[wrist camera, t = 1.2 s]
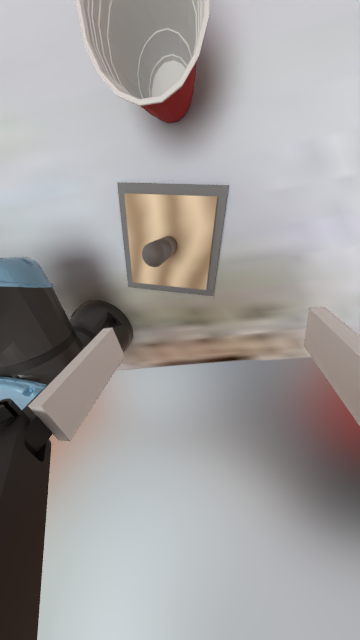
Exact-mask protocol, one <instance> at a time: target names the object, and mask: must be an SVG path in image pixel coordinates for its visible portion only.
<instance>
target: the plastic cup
mask: <svg viewBox="0 0 360 640" xmlns="http://www.w3.org/2000/svg"><path fill="white" fill-rule="evenodd" d="M76 6H77V11H78V16H79V22H80V27H81V32H82V37H83V42H84V45H85V47H86V49H87V51H88V53H89V56H90V58H91V60H92V62H93V64H94V67H95V69H96V71H97V73H98V75H99V76H100V77H101V78H102V79H103V81H104V82H105V83H106V84H107V85H108V86H109V87H110V88H111V89H112V90H113V92H114V93H115V94H116V95H117V96H118V97H120V98H123V99H125V100H127V101H130V102H132V103H134V104H137V105H139V106H141V107H142V108H144V109H145V110H146V111H148V112H149V113H150V114H152V115H153V116H155V117H157V118H159V119H160V120H162V121H165V122H167V123H171V122H177V121H178V120H180V119H181V118H182V117H183V116H184V115H185V113H186V112H187V110H188V108H189V106H190V103H191V99H192V95H193V87H194V80H195V71H196V61H197V60H198V57H199V54H200V50H201V46H202V42H203V38H204V34H205V30H206V26H207V22H208V18H209V0H76Z"/></svg>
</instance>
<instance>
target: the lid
mask: <svg viewBox="0 0 360 640" xmlns="http://www.w3.org/2000/svg"><path fill="white" fill-rule="evenodd" d="M124 196H125V207H126V217H127V228H128V239H129V249H130V260H131V271H132V281H133V282H134V283H144V284H154V285H163V286H173V287H183V288H192V289H202V290H206V287H207V279H208V271H209V262H210V254H211V246H212V237H213V229H214V221H215V212H216V204H217V196H188V195H158V194H129V193H124Z"/></svg>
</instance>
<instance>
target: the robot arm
mask: <svg viewBox="0 0 360 640" xmlns="http://www.w3.org/2000/svg"><path fill="white" fill-rule="evenodd" d="M52 287H53V284H51V283H50V282H49V280H48V279H47V277H46V275H45V273H44V272H43V270H42V268H41V267H40V265H39V264H38V263H37V262H36V261H34V260H32V259H30V258H27V257H12V258H0V640H37V631H38V618H39V604H40V591H41V576H42V562H43V550H44V536H45V523H46V509H47V495H48V481H49V468H50V454H51V442H50V440H49V438H50V436H51V435H52V434H53V435H55V437H56V438H57V439H58V440H61V441H71V440H72V438H73V437H74V435H75V433H76V432H77V430H78V429H79V427H80V426H81V424H82V422H83V421H84V419H85V418H86V416H87V415H88V413H89V411H90V410H91V408H92V407H93V405H94V404H95V402H96V400H97V399H98V397H99V396H100V394H101V392H102V391H103V389H104V388H105V386H106V384H107V383H108V381H109V380H110V378H111V377H112V375H113V373H114V372H115V370H116V369H117V367H118V366H119V364H120V363H121V361H122V359H123V358H124V356H125V355H124V353H123V352H124V351H125V350H126V348H127V347H128V346H129V344H130V343H131V340H132V328H131V325H130V323H129V321H128V319H127V318H126V316H125V315H124V314H123V313H122V312H121V311H120V310H119V309H117V308H116V307H114V306H113V305H111V304H108V303H106V302H102V301H89V302H86V303H84V304H83V305H81V306H80V307H78V308H77V309H76V310H75V311H74V313H73V314H72V316H71V319H70V320H69V319H68V317H67V315H66V313H65V311H64V309H63V307H62V306H61V304H60V302H59V300H58V298H57V296H56V294H55V292H54V290H53V288H52ZM304 346H305V348H306V349H307V351H308V352H309V354H310V355H311V357H312V358H313V359H314V361H315V362H316V363H317V365H318V367H319V368H320V370H321V371H322V372H323V374H324V375H325V377H326V378H327V380H328V381H329V382H330V384H331V385H332V387H333V388H334V390H335V391H336V393H337V394H338V395H339V397H340V398H341V399H342V401H343V403H344V404H345V405H346V407H347V408H348V410H349V411H350V413H351V414H352V415H353V417H354V418H355V420H356V421H357V422H358V424H359V426H360V335H358V334H357V333H356V332H355V331H353V330H352V329H351V328H350V327H349V326H347V325H346V324H345V323H344V322H342V321H341V320H340V319H339V318H338V317H336V316H335V315H334V314H333V313H332V312H330V311H329V310H328V309H327V308H325V307H315V308H309V314H308V321H307V328H306V335H305V342H304Z"/></svg>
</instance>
